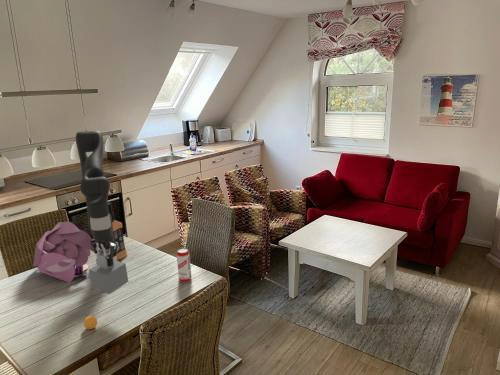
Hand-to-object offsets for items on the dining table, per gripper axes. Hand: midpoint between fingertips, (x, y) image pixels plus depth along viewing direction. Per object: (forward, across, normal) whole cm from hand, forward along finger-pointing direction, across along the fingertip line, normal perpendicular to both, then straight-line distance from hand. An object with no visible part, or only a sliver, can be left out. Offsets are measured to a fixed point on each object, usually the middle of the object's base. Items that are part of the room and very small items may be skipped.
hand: (106, 264), depth 157 cm
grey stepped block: (+10, 0, 0) cm, 10 cm away
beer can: (+23, +10, +36) cm, 44 cm away
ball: (+20, 0, -12) cm, 23 cm away
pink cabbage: (+24, -51, +15) cm, 58 cm away
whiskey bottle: (+24, -42, +38) cm, 61 cm away
